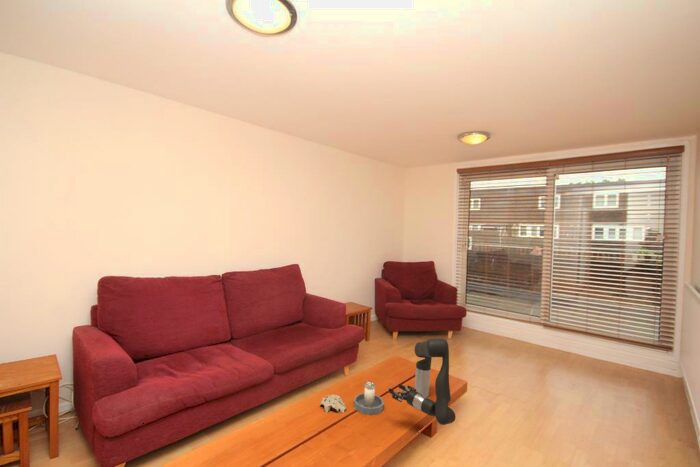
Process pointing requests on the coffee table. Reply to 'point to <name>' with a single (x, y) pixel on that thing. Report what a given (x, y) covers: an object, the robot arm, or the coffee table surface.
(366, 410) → the bowl
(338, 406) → the coral
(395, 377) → the coffee table surface
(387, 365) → the coffee table surface
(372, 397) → the pebble cup
